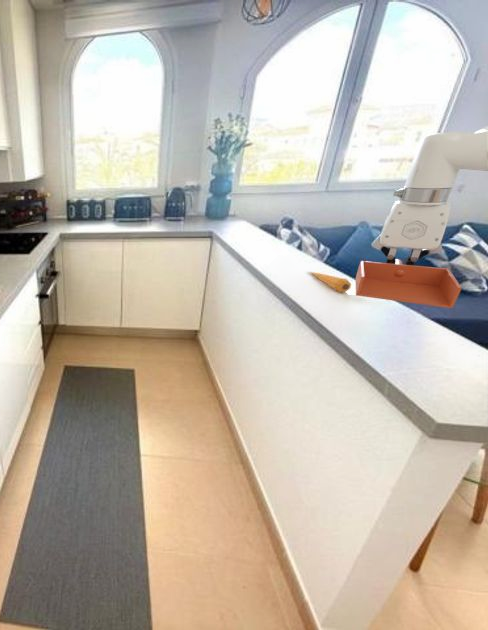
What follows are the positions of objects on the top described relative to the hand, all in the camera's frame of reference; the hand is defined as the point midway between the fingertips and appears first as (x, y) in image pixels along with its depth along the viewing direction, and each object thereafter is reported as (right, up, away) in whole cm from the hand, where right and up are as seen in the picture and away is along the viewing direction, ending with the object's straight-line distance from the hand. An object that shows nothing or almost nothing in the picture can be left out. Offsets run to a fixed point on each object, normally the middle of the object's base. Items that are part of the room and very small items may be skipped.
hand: (395, 274), depth 83 cm
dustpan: (-3, -3, -4) cm, 6 cm away
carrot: (+10, +1, +36) cm, 37 cm away
